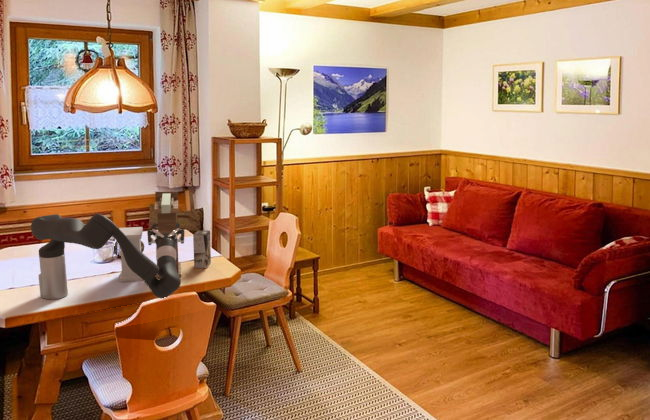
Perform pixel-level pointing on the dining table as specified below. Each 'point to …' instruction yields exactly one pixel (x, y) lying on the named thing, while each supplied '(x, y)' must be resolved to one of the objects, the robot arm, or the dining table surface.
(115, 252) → the tin
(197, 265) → the coffee box
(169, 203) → the batten
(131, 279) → the post
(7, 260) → the dining table surface
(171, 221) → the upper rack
